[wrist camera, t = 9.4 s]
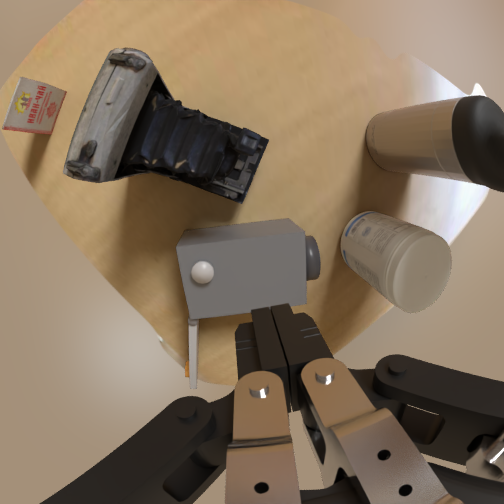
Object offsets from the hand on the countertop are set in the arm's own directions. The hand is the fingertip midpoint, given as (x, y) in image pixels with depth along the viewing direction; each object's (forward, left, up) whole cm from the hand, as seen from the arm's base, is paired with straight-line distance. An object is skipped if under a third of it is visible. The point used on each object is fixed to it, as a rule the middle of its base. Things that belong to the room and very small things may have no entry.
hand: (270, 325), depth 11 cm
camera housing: (-1, +6, -26) cm, 27 cm away
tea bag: (+26, -20, -27) cm, 42 cm away
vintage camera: (+4, -9, -27) cm, 28 cm away
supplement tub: (-19, +6, -27) cm, 33 cm away
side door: (+9, +17, -26) cm, 32 cm away
